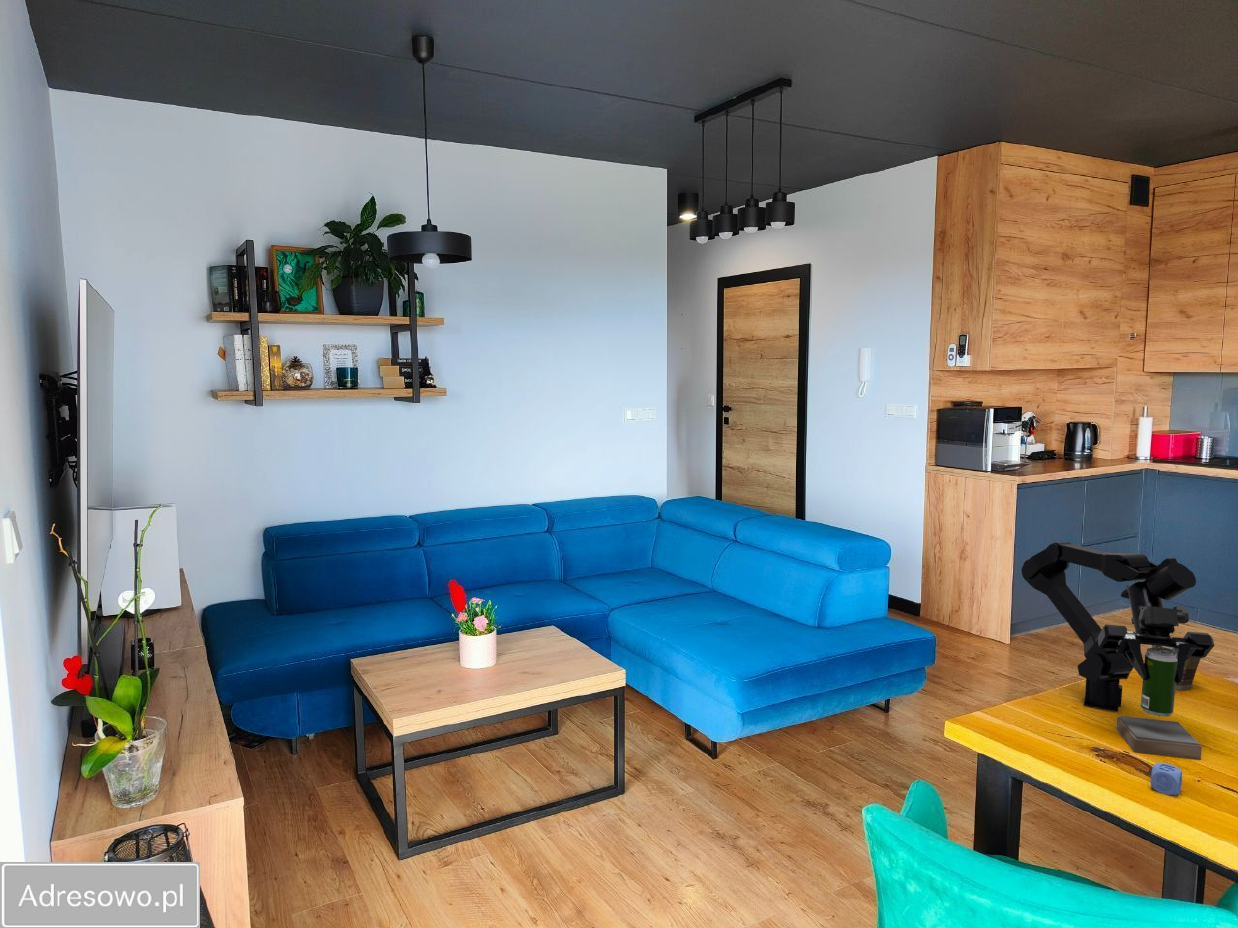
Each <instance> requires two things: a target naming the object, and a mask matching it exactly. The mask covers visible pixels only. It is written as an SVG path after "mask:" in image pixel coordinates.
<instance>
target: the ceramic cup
mask: <svg viewBox="0 0 1238 928" xmlns="http://www.w3.org/2000/svg"><path fill="white" fill-rule="evenodd" d="M1151 648H1161V649H1166V650H1170V651H1173V648H1172V647H1166V646H1155V645H1151ZM1201 659H1202V658H1193V657H1190V658H1189V659H1188V660H1186V661H1185V665H1184V669H1183V674H1182V679H1181V682H1180V684H1177V682H1176V688H1175V691H1187V690H1191V689H1192V686H1193V682H1194V681H1195V677H1196V673H1197V669H1198V666H1199V665H1200V662H1201Z"/></svg>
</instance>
